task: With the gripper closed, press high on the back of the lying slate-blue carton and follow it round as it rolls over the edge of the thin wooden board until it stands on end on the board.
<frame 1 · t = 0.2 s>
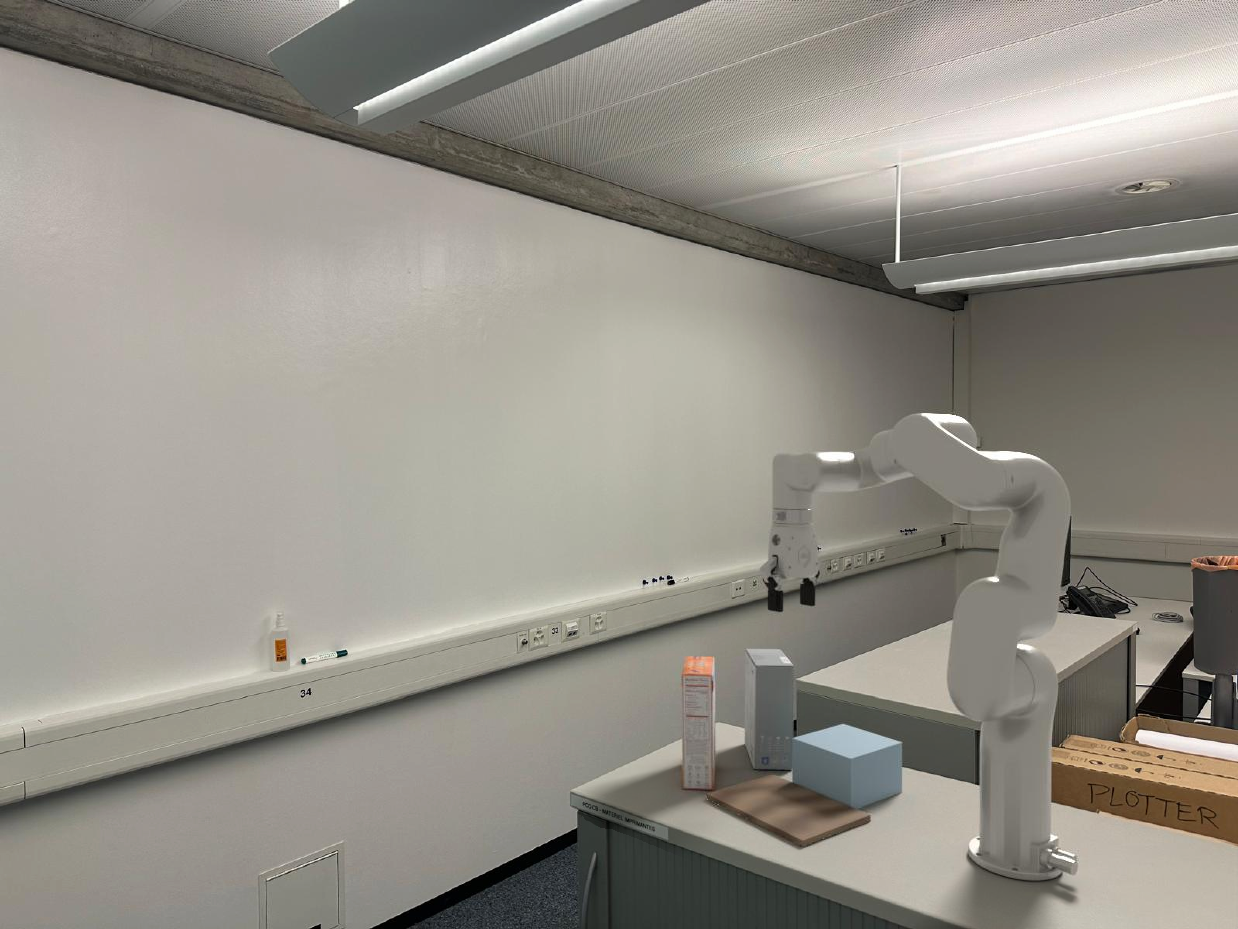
hand: (791, 608, 161), 31 cm above the table, tool pointing down, fingers open, 9 cm apart
cracker box: (698, 777, 157), on the table
thin wooden board: (786, 810, 142), on the table
hard drive box: (767, 757, 168), on the table
carton: (846, 790, 151), on the table
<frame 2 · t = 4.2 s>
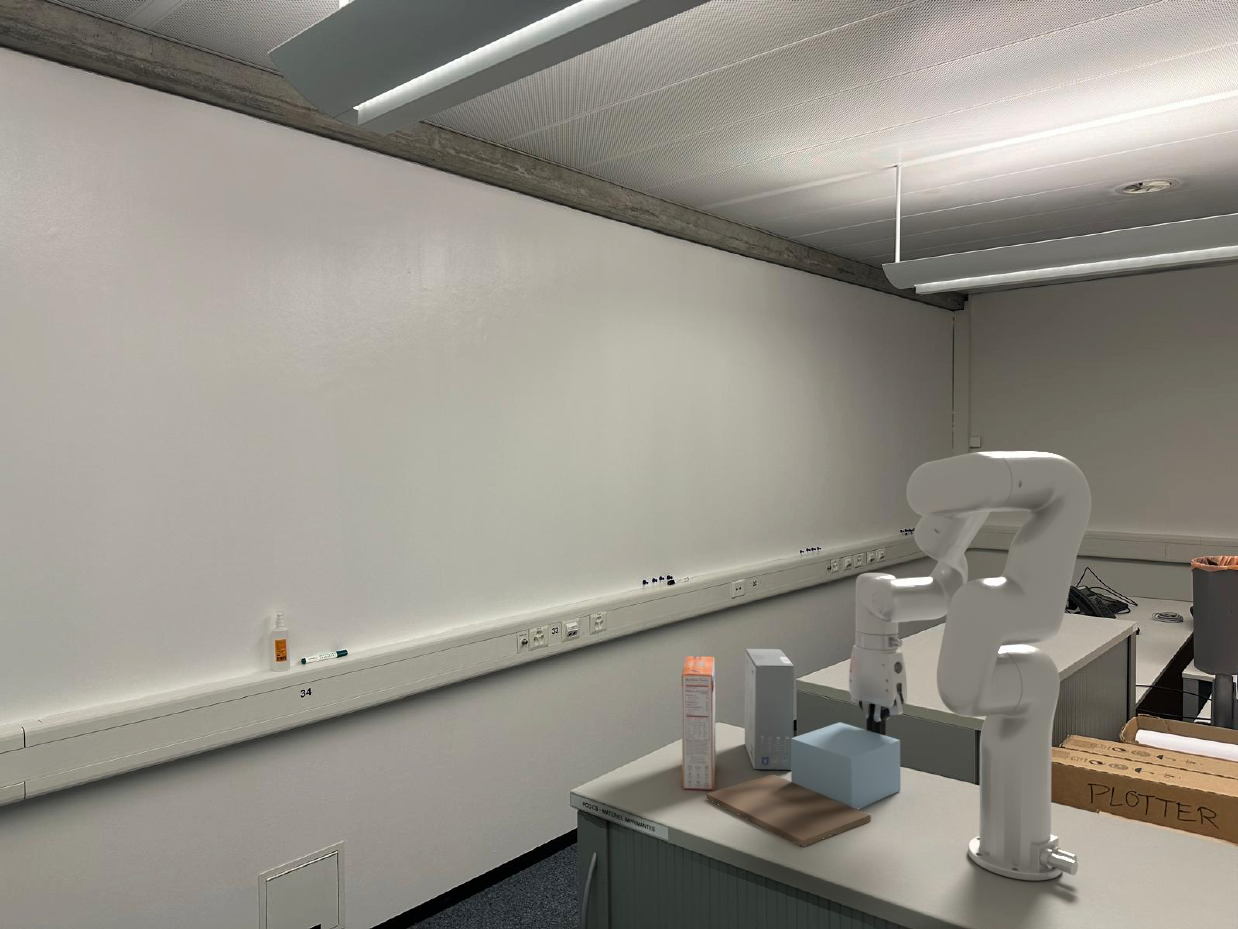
hand: (875, 740, 156), 7 cm above the table, tool pointing down, fingers closed
carton: (845, 789, 151), on the table, touching gripper, thin wooden board
everything else where it was.
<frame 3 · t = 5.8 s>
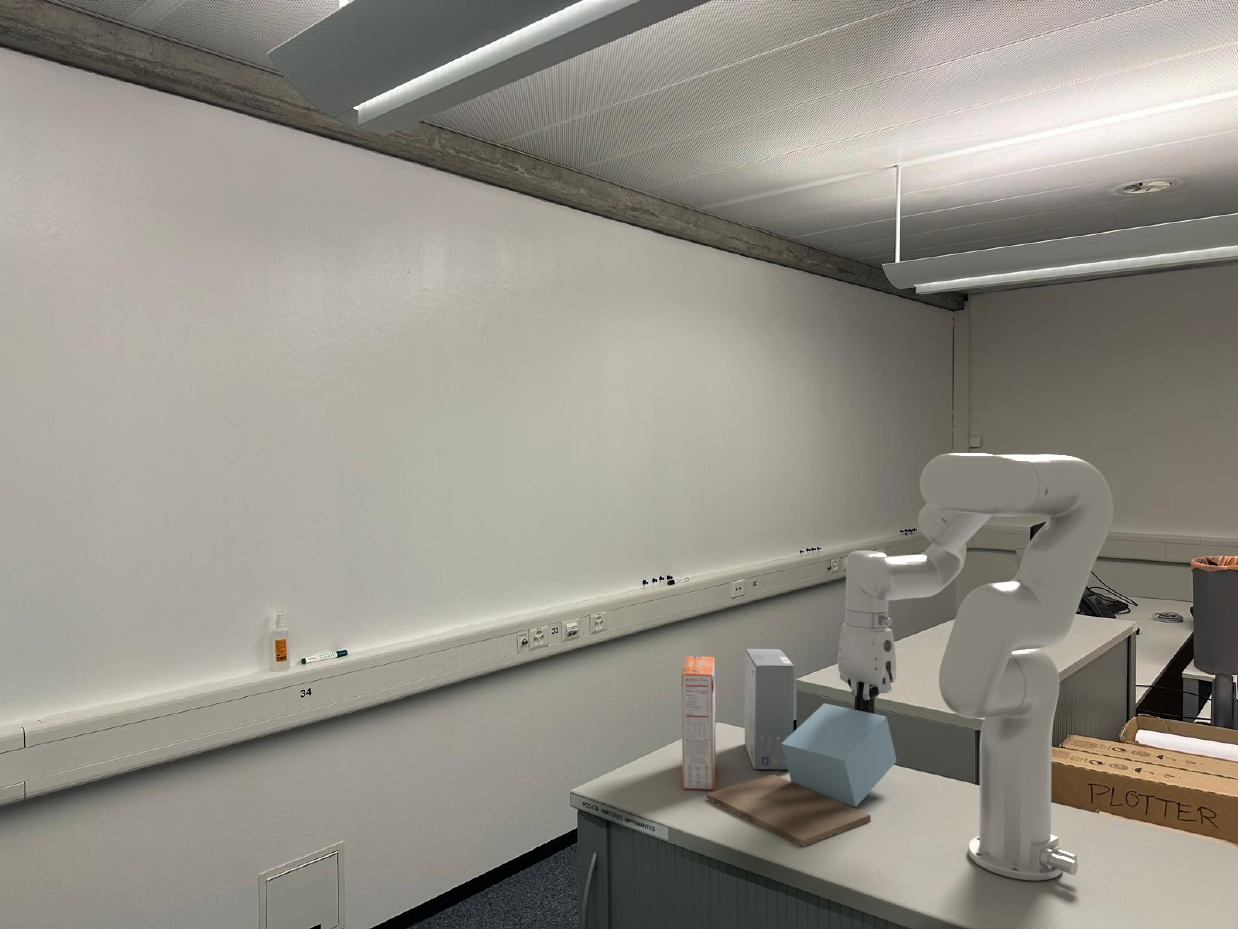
hand: (864, 718, 155), 11 cm above the table, tool pointing down, fingers closed
carton: (844, 774, 152), point 2 cm above the table, tilted 19°, touching gripper, thin wooden board
everything else where it was.
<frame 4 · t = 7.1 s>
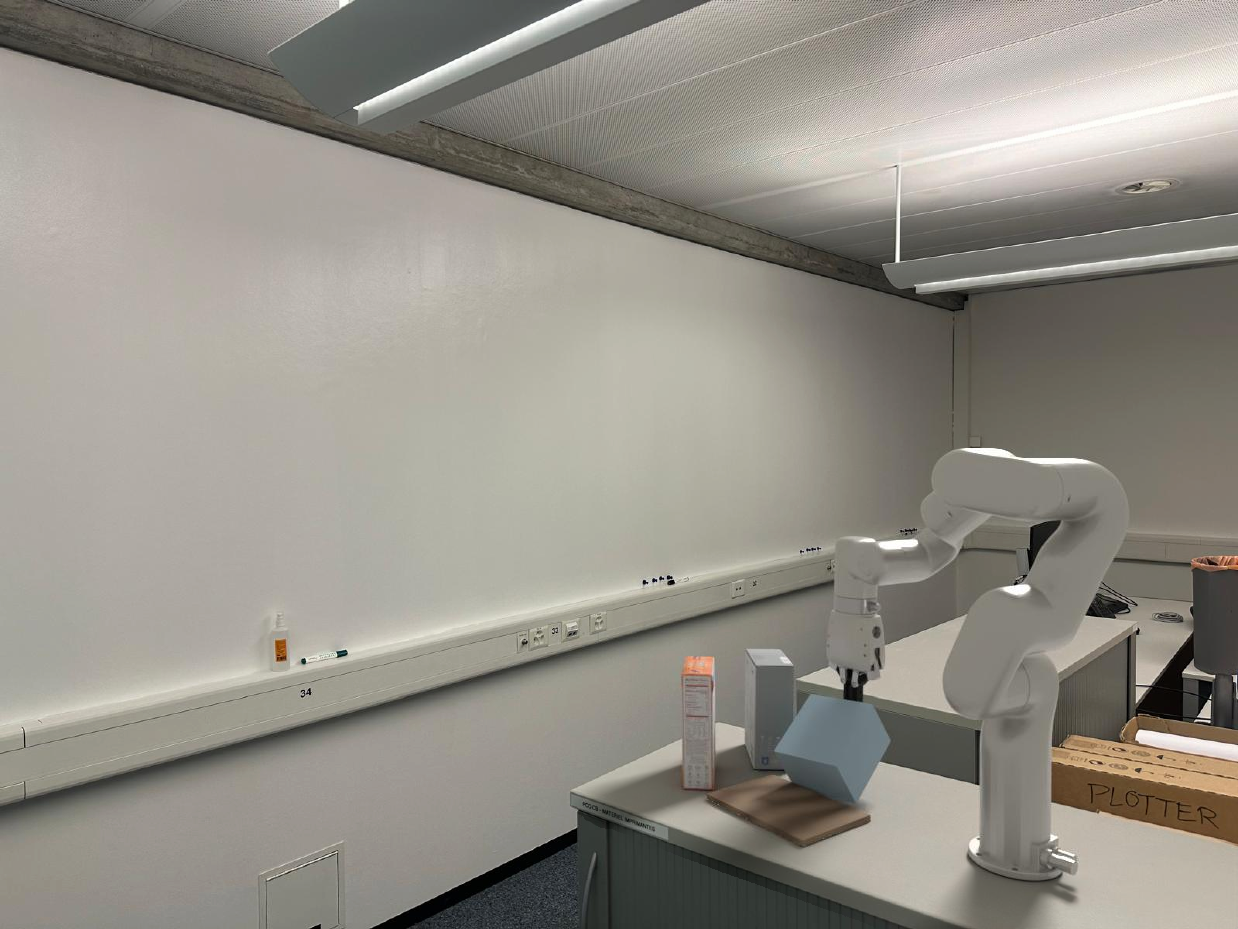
hand: (852, 706, 153), 14 cm above the table, tool pointing down, fingers closed
carton: (842, 763, 151), point 4 cm above the table, tilted 35°, touching gripper, thin wooden board
everything else where it was.
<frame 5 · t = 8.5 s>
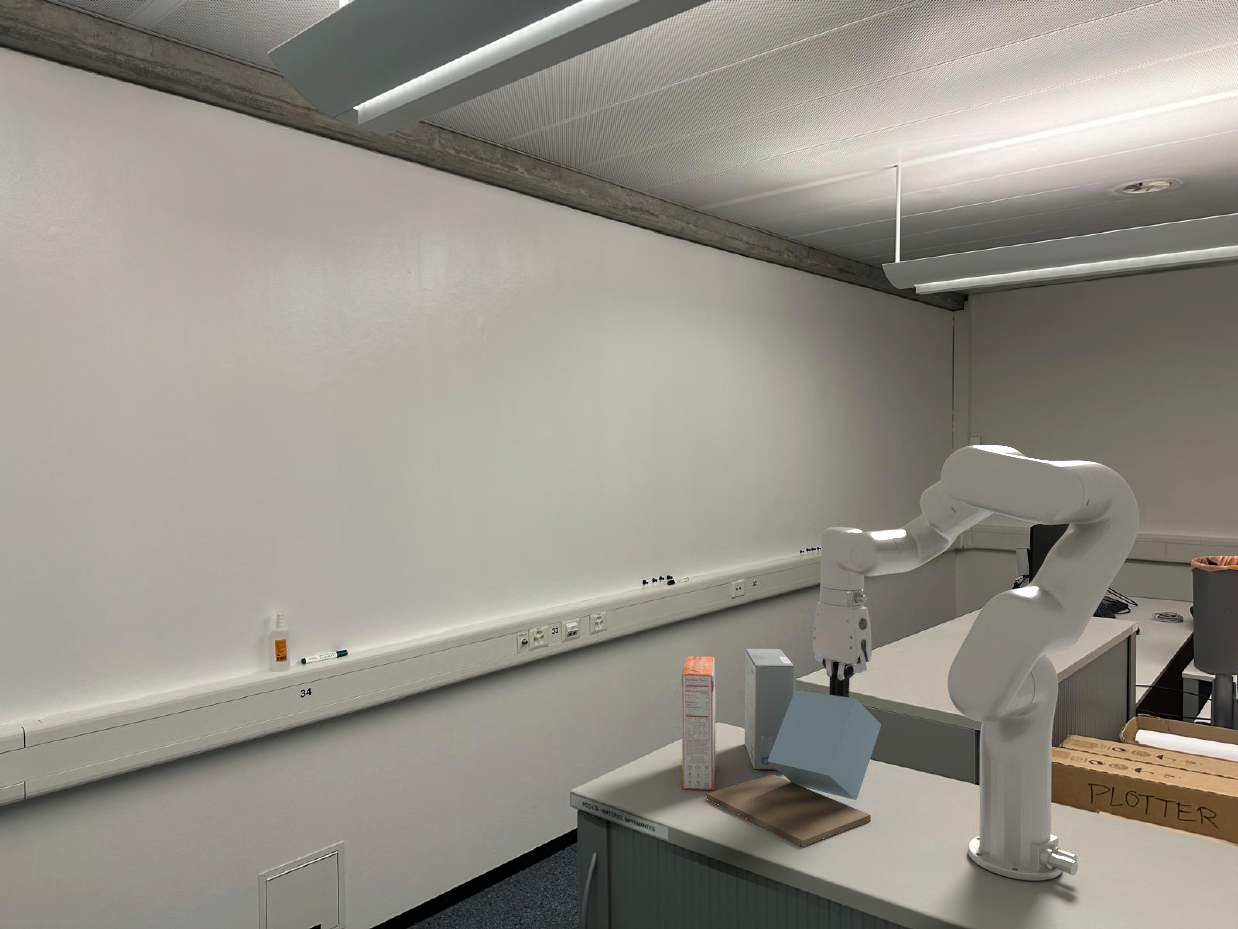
hand: (839, 699, 151), 16 cm above the table, tool pointing down, fingers closed
carton: (837, 755, 151), point 6 cm above the table, tilted 50°, touching gripper, thin wooden board
everything else where it was.
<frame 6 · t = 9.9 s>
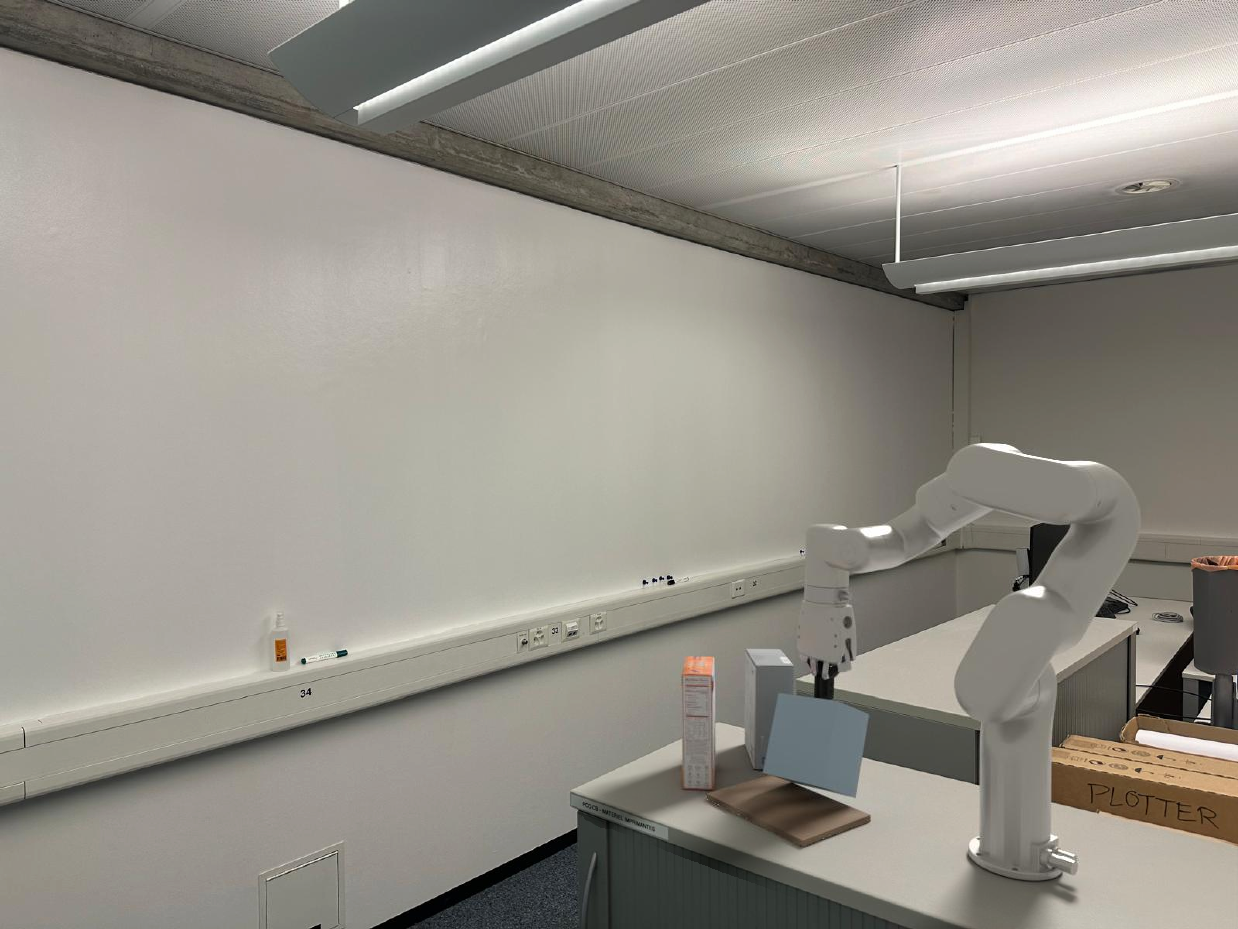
hand: (823, 699, 148), 17 cm above the table, tool pointing down, fingers closed
carton: (831, 749, 150), point 8 cm above the table, tilted 66°, touching gripper, thin wooden board
everything else where it was.
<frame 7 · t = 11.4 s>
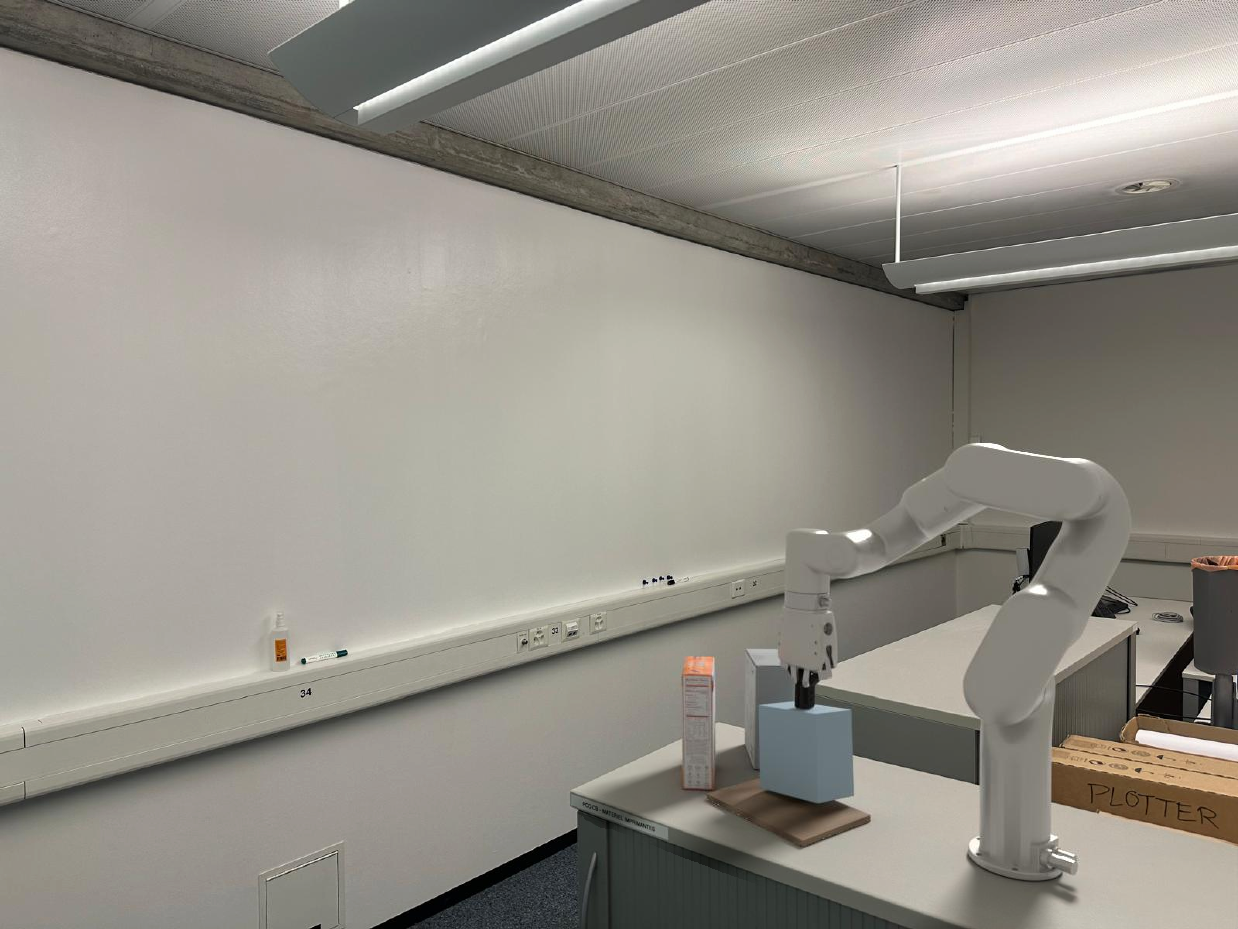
hand: (804, 707, 145), 16 cm above the table, tool pointing down, fingers closed
carton: (822, 746, 148), point 9 cm above the table, tilted 85°, touching gripper, thin wooden board
everything else where it was.
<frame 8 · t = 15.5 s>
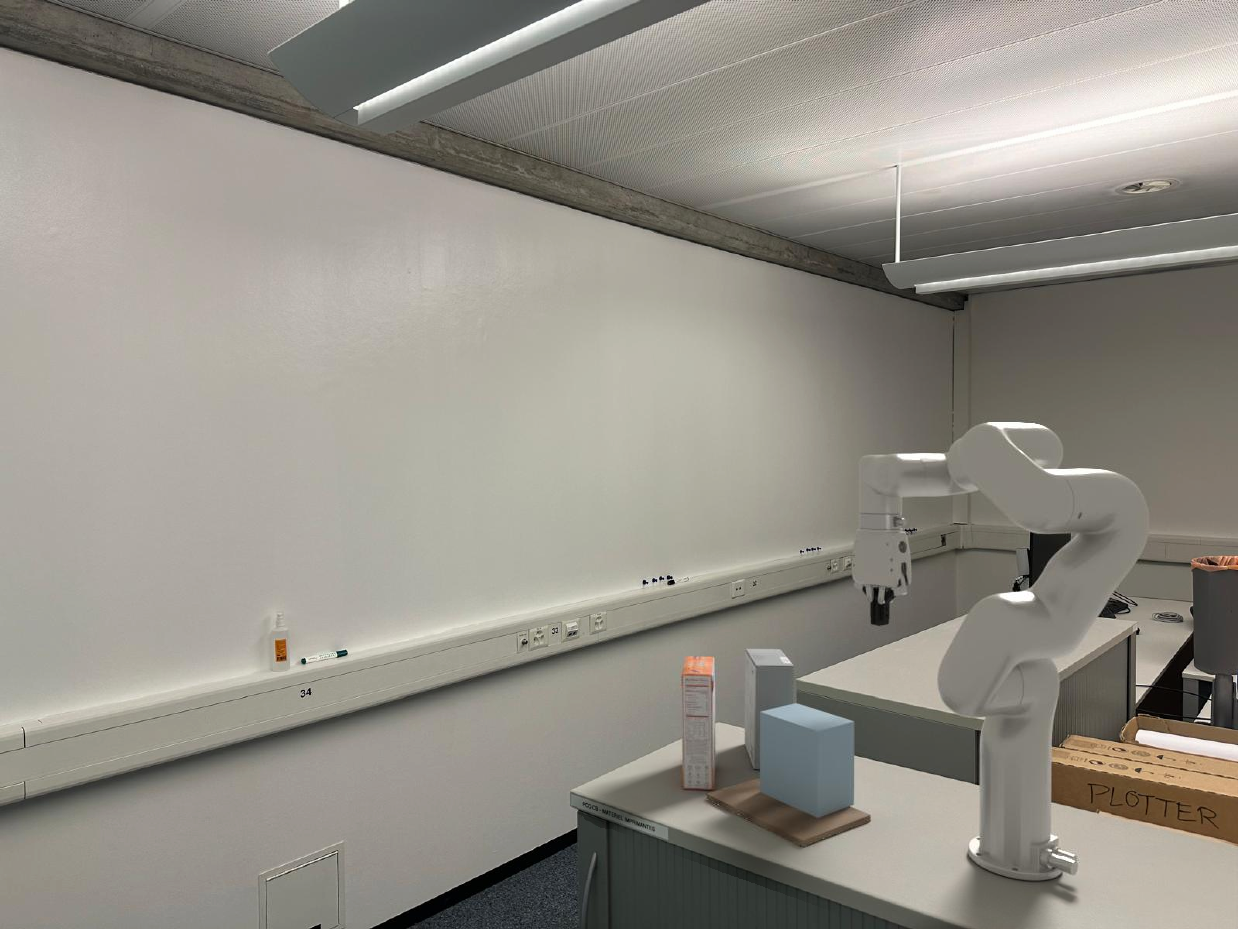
hand: (879, 624, 153), 29 cm above the table, tool pointing down, fingers closed
carton: (823, 752, 147), point 8 cm above the table, tilted 90°, touching thin wooden board
everything else where it was.
at the end: carton tilted 90°; carton inside the target area (0.7 cm from its centre), point 8.0 cm above the table; carton touching thin wooden board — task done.
